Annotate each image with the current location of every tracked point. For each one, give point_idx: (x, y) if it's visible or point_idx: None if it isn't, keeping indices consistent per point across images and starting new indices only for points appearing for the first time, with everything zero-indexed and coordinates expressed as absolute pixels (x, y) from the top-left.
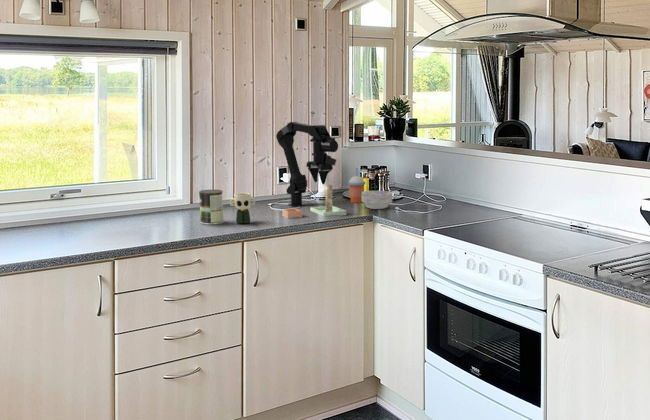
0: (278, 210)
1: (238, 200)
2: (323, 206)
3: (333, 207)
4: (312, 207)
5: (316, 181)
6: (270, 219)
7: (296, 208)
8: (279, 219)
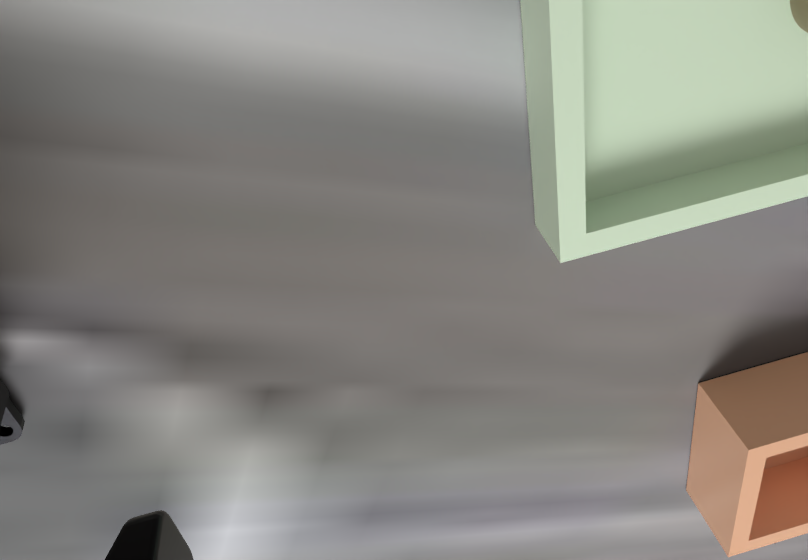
0: (294, 541)
1: None
2: (558, 33)
3: None
4: (567, 233)
5: (172, 537)
6: None
7: (756, 450)
8: None
